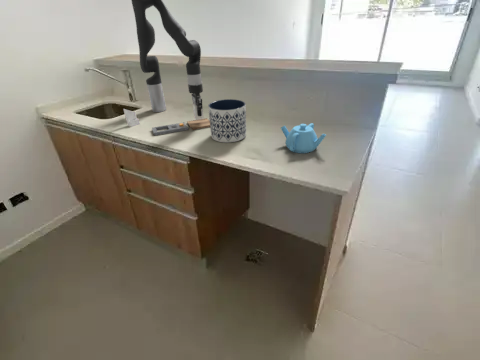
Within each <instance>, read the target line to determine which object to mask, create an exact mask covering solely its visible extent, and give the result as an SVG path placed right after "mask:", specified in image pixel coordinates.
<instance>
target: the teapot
mask: <svg viewBox="0 0 480 360" xmlns="http://www.w3.org/2000/svg"><path fill="white" fill-rule="evenodd" d="M314 127H315V125H314V123H312V122H311V123H309V124H306V123H300V124H299V125H295V126H293V128H291V129H290V131H289V129H288V128H287V127H286V125H283V126H282V127H280V129H281V131H282V134H283V135H284V137H285V147H287V149H288V150H289V151H291V152H293V153H296V154H308V153H309V152H310V153H313V151H315V150H316V149H317V147H319V145H320V144H321V143H322V142H323V140H324V139H325V138H326V137H327V134H326V133H322V134H321V135H320V136H319V137H318V135H317V133H316V131H315V130H314Z"/></svg>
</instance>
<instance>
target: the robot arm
mask: <svg viewBox="0 0 480 360" xmlns="http://www.w3.org/2000/svg"><path fill="white" fill-rule="evenodd" d="M131 4H132V9H133V14H134V19H135V25H136V26H135V27H136V36H137V43H138V51H139V52H138V53H139V65H140V69H141V72H143V73H145V74H146V73H147V74H149V73H153V74H152V75H151V76H150V77H148V78H146V80H145V81H146V82H145V83H146V85H147V91H148V95H149V101H150V105H151V111H152V112H154V113H159V112H160V113H161V112H164V111H166V110H167V105H166V99H165V95H164V89H163V84H162V77H161V70H160V63H159V58H158V57H157V56H156V55H148V54H149V53H150V51H151V50H152V49H153V47H154V46H155V43H156V32H155V28H154V26H153V25H152V23H150V21H149V20H148V19H147V15H146V10H147V9H149V8H151V7H154V8H155V9H156V10H157V11H158V13H159V15H160V18H161V24H162V27H163V29H164V30H165V31H166V33H167V34H168V35H169V36H170V38H171V39H172V40H173V41H174V42H175V44H176V46H177V48H178V49H179V51H180V53H181V54H182V55H183V56H185V57H187V58H188V61H187V62H186V64H185V67H186V74H187V75H186V79H187V81H186V82H187V87H188V93H189V94H191V99H192V105H193V104H195V105H196V107H197V114H198V116H202V112H201V109H202V106H203V98H202V96H201V93H203V92H204V91H203V90H204V89H203V88H204V87H203V79H202V74H201V65H200V63H201V55H202V49H201V46H200V43H199V42H198V40H195V39H190V40H189V39H188V38H187V37H186V36H187V32H186V31H185V29H184V27H182V26H181V24H180V23H179V22H178V21H177V20H176V18H174V16H173V15H172V14H171V12H170V10H169V9H168V8H167V5H165V3H164V1H163V0H131ZM199 106H200V107H199Z"/></svg>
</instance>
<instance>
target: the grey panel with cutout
mask: <svg viewBox="0 0 480 360" xmlns="http://www.w3.org/2000/svg"><path fill="white" fill-rule="evenodd" d="M151 130H152V133H153V135H155V136H160V134H161V135H167V134H172V133H177V132H178V133H179V132H183V131H189V127H188V124H186V123H185V122H178V123H171V124H167V125H160V126H153V127H151Z"/></svg>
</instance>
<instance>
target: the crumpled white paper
mask: <svg viewBox="0 0 480 360" xmlns="http://www.w3.org/2000/svg"><path fill="white" fill-rule="evenodd" d="M123 113H124V116H125V119H126V124H127V126H128V127H130V126H131V128H132V127H135V126H137V125H140V124H141V122H140V119H139V118H137V117H138V116H137V114H136V111H132V110H129V109H127V108H126V109H125V108H123Z"/></svg>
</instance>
